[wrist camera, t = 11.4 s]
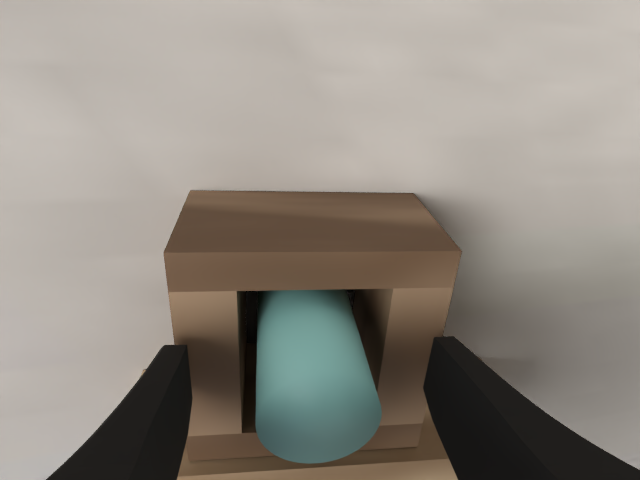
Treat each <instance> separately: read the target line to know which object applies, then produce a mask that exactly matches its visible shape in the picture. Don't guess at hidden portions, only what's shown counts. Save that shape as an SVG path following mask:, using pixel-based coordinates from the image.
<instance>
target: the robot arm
mask: <svg viewBox="0 0 640 480" xmlns="http://www.w3.org/2000/svg"><path fill="white" fill-rule="evenodd" d="M423 390H424V394H425V397H426V401H427V404H428V408H429V411H430V414H431V417H432V421H433V423H434V425H435V428H436V430H437V433H438V435H439V437H440V440H441V442H442V444H443V447H444V449H445V451H446V453H447V456H448V458H449V460H450V462H451V465H452V467H453V469H454V472H455V474H456V476H457V479H458V480H640V470H638V469H637V468H635V467H633V466H631V465H629V464H627V463H625V462H624V461H622V460H620V459H618V458H616V457H615V456H613V455H611V454H609V453H608V452H606V451H604V450H603V449H601V448H599V447H597V446H596V445H594V444H592V443H591V442H589V441H587V440H586V439H584V438H583V437H581V436H579V435H578V434H576V433H575V432H573V431H572V430H570V429H569V428H567V427H566V426H564V425H563V424H561V423H560V422H558V421H557V420H555V419H554V418H553V417H551V416H550V415H548V414H547V413H545V412H544V411H543V410H541V409H540V408H539V407H537V406H536V405H535V404H534V403H532V402H531V401H530V400H528V399H527V398H526V397H524V396H523V395H522V394H520V393H519V392H518V391H517V390H516V389H514V388H513V387H512V386H511V385H509V384H508V383H507V382H506V381H505V380H503V379H502V378H501V377H500V376H499V375H497V374H496V373H495V372H494V371H493V370H492V369H490V368H489V367H488V366H487V365H486V364H485V363H484V362H482V361H481V360H480V359H479V358H478V357H477V356H476V355H474V354H473V353H472V352H471V351H470V350H469V349H468V348H466V347H465V346H464V345H463V344H462V343H461V342H459V341H458V340H457V339H456V338H455V337H453V336H452V337H434V339H433V344H432V348H431V353H430V357H429V362H428V367H427V371H426V376H425V380H424V385H423ZM192 399H193V397H192V387H191V377H190V368H189V358H188V348H187V345H164V346H163V347H162V348H161V349H160V351H159V352H158V354H157V355H156V357H155V358H154V359H153V361H152V362H151V364H150V365H149V366H148V368H147V369H146V371H145V372H144V373H143V375H142V376H141V377H140V379H139V380H138V381H137V383H136V384H135V385H134V386H133V388H132V389H131V390H130V391H129V393H128V394H127V395H126V397H125V398H124V399H123V400H122V402H121V403H120V404H119V405H118V406H117V408H116V409H115V410H114V411H113V412H112V413H111V414H110V416H109V417H108V418H107V419H106V420H105V421H104V422H103V423H102V425H101V426H100V427H99V428H98V429H97V430H96V431H95V432H94V434H93V435H92V436H91V437H90V438H89V439H88V440H87V441H86V442H85V443H84V444H83V445H82V446H81V447H80V448H79V449H78V450H77V451H76V452H75V453H74V454H73V455H72V456H71V457H70V458H69V459H68V460H67V461H66V462H65V463H64V464H63V465H62V466H61V467H59V468H58V469H57V470H56V471H55V472H54V473H53V474H52V475H51V476H50V477H48V478H47V479H46V480H177V477H178V473H179V469H180V465H181V461H182V457H183V453H184V448H185V444H186V440H187V436H188V430H189V423H190V416H191V407H192Z"/></svg>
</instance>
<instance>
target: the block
mask: <svg viewBox="0 0 640 480" xmlns="http://www.w3.org/2000/svg"><path fill="white" fill-rule="evenodd" d="M461 252H462V251H461V250H460V248H459V247H458V246H457V245H456V244H455V242H454V241H453V240H452V239H451V238H450V237H449V235H448V234H447V233H446V232H445V231H444V229H443V228H442V227H441V226H440V225H439V223H438V222H437V221H436V220H435V219H434V217H433V216H432V215H431V214H430V213H429V211H428V210H427V209H426V208H425V207H424V205H423V204H422V203H421V202H420V201H419V199H418V198H417V197H416V196H415V195H414V194H413V193H350V192H266V191H190V192H189V194H188V197H187V199H186V201H185V204H184V206H183V208H182V211H181V213H180V215H179V218H178V220H177V222H176V225H175V227H174V230H173V232H172V234H171V237H170V239H169V241H168V244H167V246H166V248H165V251H164V261H165V269H166V277H167V285H168V294H169V302H170V310H171V319H172V327H173V335H174V344H175V345H187V348H188V358H189V368H190V377H191V387H192V397H193V399H192V407H191V416H190V423H189V430H188V436H187V440H186V443H187V451H188V460H189V461H197V460H213V459H229V458H245V457H261V456H276V455H274V454H273V453H271V452H270V451H269V450H267V449H266V448H265V447H264V446H263V444H262V443H261V442H260V440H259V438H258V435H257V432H256V425H255V424H256V368H257V343H247V331H246V292H245V291H270V290H333V289H355V295H354V304H353V315H354V318H355V321H356V325H357V328H358V331H359V335H360V338H361V341H362V345H363V348H364V351H365V355H366V358H367V361H368V365H369V368H370V371H371V374H372V378H373V381H374V384H375V388H376V391H377V394H378V398H379V401H380V404H381V410H382V416H381V421H380V425H379V427H378V429H377V431H376V432H375V434H374V435H373V437H372V438H371V439H370V440H369V441H368V442H367V443H366V444H365V445H364V446H362V447H361V448H360V449H358V450H374V449H390V448H406V447H417V446H418V442H419V437H420V433H421V429H422V424H423V420H424V415H425V411H426V407H427V401H426V397H425V394H424V390H423V385H424V380H425V376H426V371H427V367H428V362H429V357H430V353H431V348H432V344H433V339H434V337H442V336H443V332H444V327H445V323H446V319H447V314H448V310H449V305H450V301H451V296H452V292H453V288H454V283H455V279H456V274H457V270H458V266H459V261H460V257H461ZM358 450H357V451H358Z"/></svg>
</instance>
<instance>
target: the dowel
mask: <svg viewBox="0 0 640 480" xmlns="http://www.w3.org/2000/svg"><path fill="white" fill-rule="evenodd" d="M381 416H382V410H381V404H380V401H379V398H378V394H377V391H376V388H375V384H374V381H373V378H372V374H371V371H370V368H369V365H368V361H367V358H366V355H365V351H364V348H363V345H362V341H361V338H360V335H359V331H358V328H357V325H356V321H355V318H354V315H353V312H352V308H351V305H350V302H349V298H348V295H347V292H346V289H333V290H270V291H258V311H257V368H256V424H255V425H256V432H257V435H258V438H259V440H260V442H261V443H262V444H263V446H264V447H265V448H266V449H267V450H269V451H270V452H271V453H273V454H274V455H276V456H278V457H280V458H282V459H285V460H288V461H292V462H297V463H307V464H312V463H324V462H329V461H333V460H337V459H340V458H343V457H345V456H347V455H349V454H352V453H353V452H355V451H357V450H358V449H360V448H361V447H362V446H364V445H365V444H366V443H367V442H368V441H369V440H370V439H371V438H372V437H373V435H374V434H375V432H376V431H377V429H378V427H379V425H380V421H381Z"/></svg>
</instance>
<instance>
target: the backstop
mask: <svg viewBox="0 0 640 480" xmlns="http://www.w3.org/2000/svg"><path fill="white" fill-rule="evenodd" d="M479 359H480V358H479ZM480 360H481V359H480ZM481 361H482V360H481ZM145 371H146V370H143V372H142V375H143V373H144V372H145ZM142 375H141V376H142ZM177 480H458V479H457V476H456V474H455V472H454V469H453V467H452V465H451V462H450V460H449V458H448V456H447V453H446V451H445V449H444V447H443V444H442V442H441V440H440V437H439V435H438V433H437V430H436V428H435V425H434V423H433V421H432V417H431V414H430V411H429V408H428V404H427V407H426V411H425V415H424V420H423V424H422V429H421V433H420V437H419V442H418V446H417V447H406V448H390V449H374V450H358V451H355V452H353V453H352V454H349V455H347V456H345V457H343V458H340V459H337V460H333V461H329V462H324V463H312V464H307V463H297V462H292V461H288V460H285V459H282V458H280V457H278V456H261V457H245V458H229V459H213V460H197V461H189V460H188V451H187V443H186V444H185V448H184V453H183V457H182V461H181V465H180V469H179V473H178V477H177Z"/></svg>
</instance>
